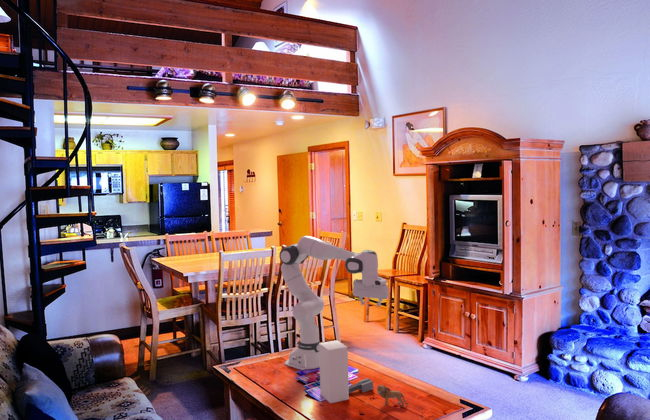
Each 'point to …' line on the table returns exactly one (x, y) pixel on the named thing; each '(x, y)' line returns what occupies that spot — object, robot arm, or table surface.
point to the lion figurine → (390, 394)
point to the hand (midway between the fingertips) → (370, 305)
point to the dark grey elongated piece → (362, 385)
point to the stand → (334, 371)
